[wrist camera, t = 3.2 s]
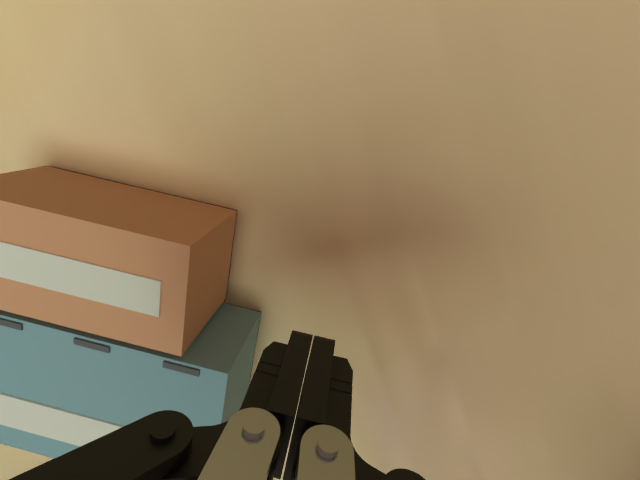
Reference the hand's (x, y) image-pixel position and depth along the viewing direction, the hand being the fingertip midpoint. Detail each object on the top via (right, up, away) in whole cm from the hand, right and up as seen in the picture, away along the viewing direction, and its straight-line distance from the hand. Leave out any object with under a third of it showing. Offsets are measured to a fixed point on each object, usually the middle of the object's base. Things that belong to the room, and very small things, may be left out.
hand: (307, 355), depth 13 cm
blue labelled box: (-11, -2, +9) cm, 15 cm away
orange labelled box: (-9, +4, +7) cm, 12 cm away
